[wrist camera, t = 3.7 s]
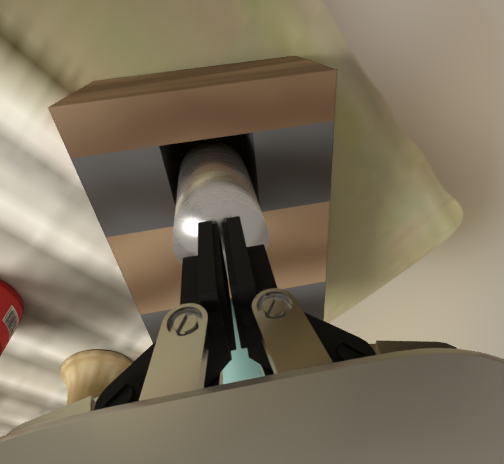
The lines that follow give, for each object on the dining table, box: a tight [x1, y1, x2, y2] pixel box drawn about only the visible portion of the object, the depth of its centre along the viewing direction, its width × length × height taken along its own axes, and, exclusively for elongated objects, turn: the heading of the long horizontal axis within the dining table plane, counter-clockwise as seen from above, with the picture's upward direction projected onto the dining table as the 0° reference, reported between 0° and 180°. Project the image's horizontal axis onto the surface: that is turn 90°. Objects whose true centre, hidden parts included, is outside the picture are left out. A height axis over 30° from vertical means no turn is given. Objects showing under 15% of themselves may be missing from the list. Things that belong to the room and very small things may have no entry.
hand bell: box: [61, 350, 132, 405], centre depth 31 cm, size 8×8×16 cm
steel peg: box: [172, 142, 269, 278], centre depth 16 cm, size 4×4×7 cm
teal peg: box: [222, 298, 263, 384], centre depth 23 cm, size 4×4×7 cm
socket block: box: [48, 56, 337, 344], centre depth 25 cm, size 22×14×8 cm, turn 5°
